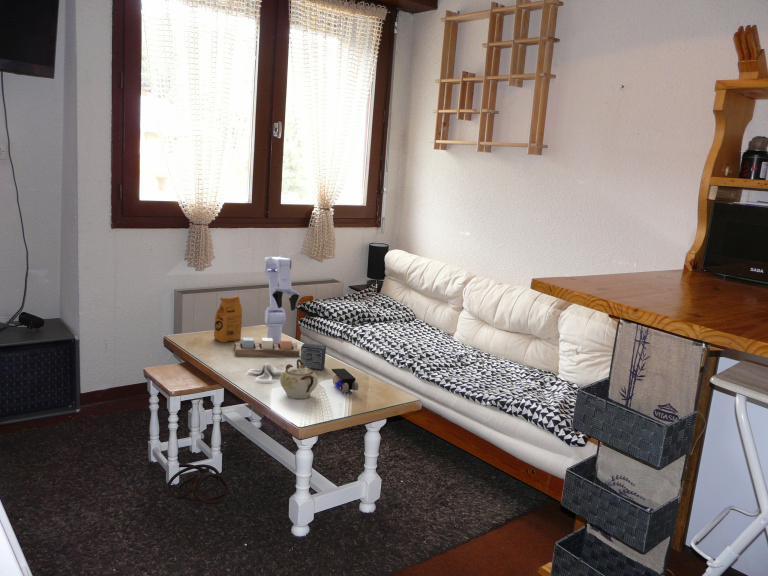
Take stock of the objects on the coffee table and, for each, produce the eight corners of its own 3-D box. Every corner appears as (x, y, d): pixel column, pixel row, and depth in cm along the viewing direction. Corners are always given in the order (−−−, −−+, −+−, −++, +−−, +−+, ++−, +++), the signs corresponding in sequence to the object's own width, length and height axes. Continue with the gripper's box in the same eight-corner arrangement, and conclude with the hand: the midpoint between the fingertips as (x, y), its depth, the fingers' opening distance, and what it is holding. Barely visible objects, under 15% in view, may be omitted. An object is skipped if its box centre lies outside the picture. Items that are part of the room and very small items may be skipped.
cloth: (261, 387, 268) (262, 373, 267) (236, 374, 281) (236, 360, 279) (303, 378, 284) (304, 365, 283) (278, 366, 296) (279, 353, 295)
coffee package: (210, 338, 328) (212, 295, 323) (231, 335, 337) (234, 293, 332) (222, 343, 321) (224, 300, 317) (243, 340, 330) (245, 297, 326)
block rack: (234, 348, 315) (234, 342, 315) (296, 349, 323) (296, 343, 323) (235, 355, 304) (235, 349, 303) (299, 356, 312) (299, 350, 311)
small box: (325, 366, 301) (326, 345, 299) (322, 371, 294) (324, 348, 292) (302, 364, 301) (304, 342, 299) (299, 368, 295) (300, 346, 293)
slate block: (242, 345, 313) (242, 337, 312) (252, 345, 314) (253, 337, 313) (242, 348, 308) (243, 340, 307) (253, 348, 309) (253, 340, 308)
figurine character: (358, 398, 269) (342, 382, 281) (360, 381, 266) (345, 366, 279) (343, 400, 265) (328, 383, 278) (345, 383, 263) (330, 367, 276)
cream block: (261, 345, 315) (261, 337, 314) (271, 345, 316) (272, 338, 315) (261, 348, 310) (262, 340, 309) (272, 349, 311) (273, 340, 311)
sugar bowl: (269, 389, 265) (271, 354, 262) (300, 384, 274) (303, 350, 271) (294, 406, 250) (297, 369, 247) (326, 400, 259) (329, 364, 256)
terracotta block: (279, 346, 317) (280, 338, 317) (290, 346, 319) (290, 338, 318) (280, 349, 313) (281, 341, 312) (291, 349, 314) (291, 341, 313)
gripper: (277, 276, 302) (278, 303, 297) (302, 281, 311) (304, 308, 307) (268, 281, 306) (269, 308, 301) (293, 286, 316) (295, 312, 311)
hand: (286, 308), depth 304 cm, fingers open, 7 cm apart
